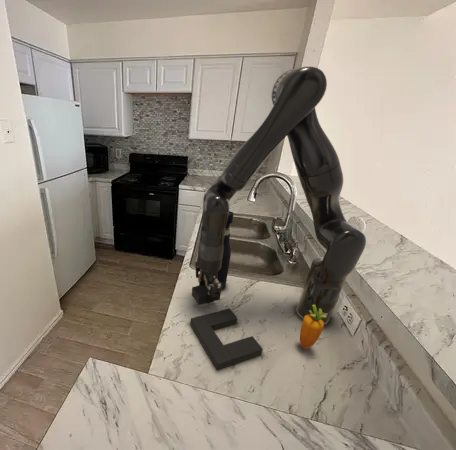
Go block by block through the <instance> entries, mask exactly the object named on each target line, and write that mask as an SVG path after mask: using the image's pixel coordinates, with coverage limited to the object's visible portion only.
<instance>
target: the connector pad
mask: <svg viewBox="0 0 456 450" xmlns="http://www.w3.org/2000/svg"><path fill="white" fill-rule="evenodd" d="M210 284H213V283H210ZM210 284H209V285H210ZM210 291H212V288H210ZM207 293H208V292H207V288H206V286H205V284H204V285H200V286H199V285H196V286H191V297H192V298H193V300H194V301H195V302H196V304H197V305H198V306H200V305H204V304H208V303H207ZM221 294H222V291H221V292H220V295H219V296H216V297H214V302H216V301H220V300H221Z"/></svg>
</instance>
